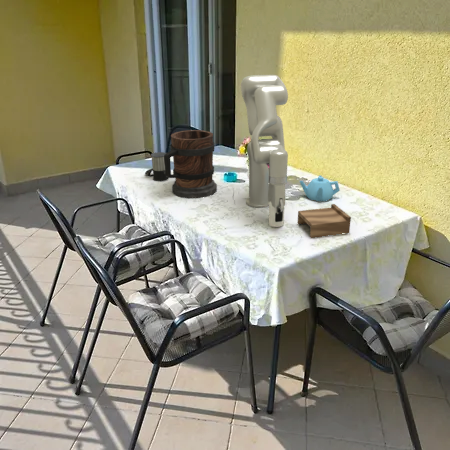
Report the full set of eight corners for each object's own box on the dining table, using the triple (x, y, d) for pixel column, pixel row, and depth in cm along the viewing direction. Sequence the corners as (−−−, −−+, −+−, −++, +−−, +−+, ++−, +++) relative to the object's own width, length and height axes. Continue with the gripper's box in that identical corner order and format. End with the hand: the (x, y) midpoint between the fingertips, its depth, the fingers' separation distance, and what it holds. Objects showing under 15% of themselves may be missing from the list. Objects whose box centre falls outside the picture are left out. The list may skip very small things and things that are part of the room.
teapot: (318, 205, 209) (320, 184, 204) (297, 196, 220) (298, 176, 216) (340, 198, 216) (342, 178, 212) (319, 190, 228) (320, 170, 223)
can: (273, 220, 193) (274, 195, 188) (286, 223, 189) (287, 198, 184) (265, 225, 189) (266, 199, 184) (278, 228, 185) (279, 203, 180)
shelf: (297, 223, 190) (298, 207, 187) (332, 219, 193) (334, 204, 190) (311, 238, 176) (312, 221, 173) (349, 233, 180) (350, 217, 177)
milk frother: (166, 182, 243) (164, 156, 237) (139, 180, 246) (137, 155, 240) (173, 174, 256) (171, 150, 250) (147, 173, 259) (145, 149, 252)
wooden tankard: (225, 190, 230) (225, 134, 217) (183, 205, 211) (179, 145, 199) (196, 180, 245) (194, 127, 233) (154, 193, 227) (149, 137, 214)
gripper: (262, 173, 187) (261, 211, 195) (276, 186, 172) (274, 227, 179) (279, 172, 189) (277, 210, 196) (293, 185, 173) (291, 225, 181)
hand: (276, 217), depth 188 cm, fingers closed on can, 6 cm apart
